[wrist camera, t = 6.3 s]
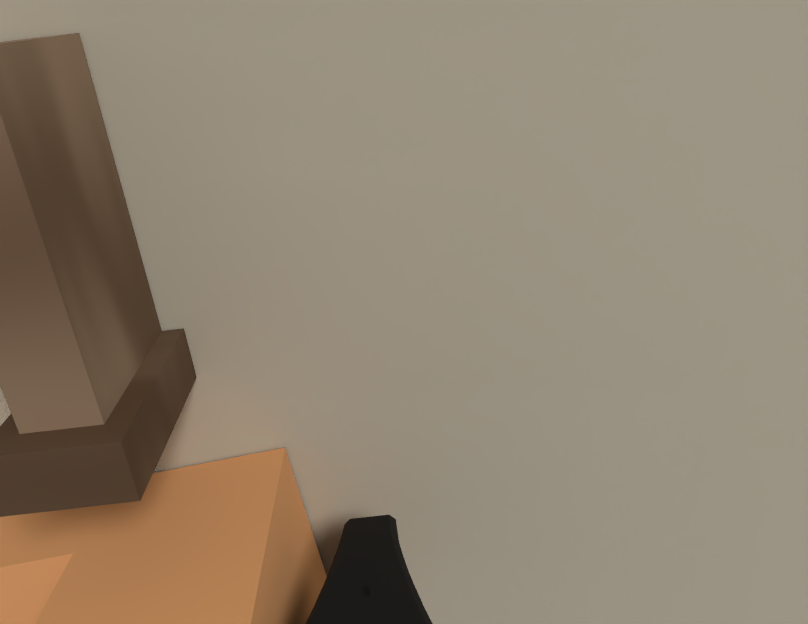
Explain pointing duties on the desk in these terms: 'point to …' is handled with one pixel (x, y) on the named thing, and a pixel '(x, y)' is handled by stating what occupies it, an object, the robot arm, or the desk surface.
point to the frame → (74, 299)
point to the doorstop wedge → (170, 552)
